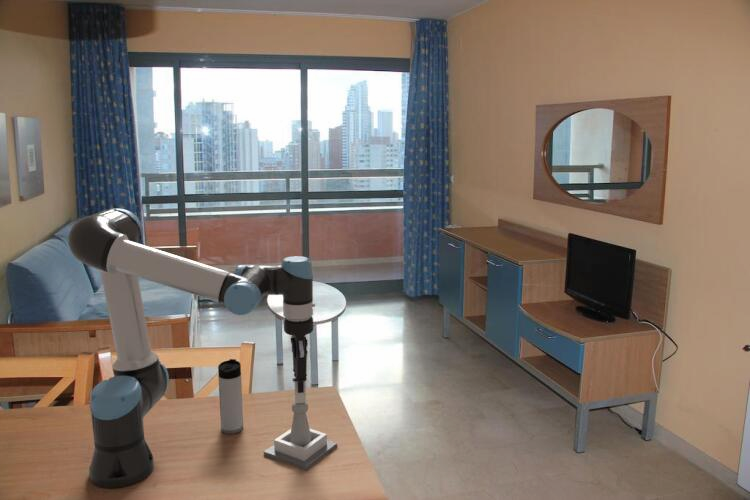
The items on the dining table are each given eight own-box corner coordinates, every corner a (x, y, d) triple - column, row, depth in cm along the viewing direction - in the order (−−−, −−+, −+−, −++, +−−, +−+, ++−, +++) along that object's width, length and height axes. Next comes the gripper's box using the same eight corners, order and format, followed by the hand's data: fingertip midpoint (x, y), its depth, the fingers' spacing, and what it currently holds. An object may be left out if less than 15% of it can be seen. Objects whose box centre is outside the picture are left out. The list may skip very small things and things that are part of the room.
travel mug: (246, 423, 187) (243, 359, 182) (239, 434, 180) (236, 368, 176) (225, 422, 187) (222, 358, 183) (217, 433, 181) (214, 367, 176)
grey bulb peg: (310, 453, 169) (309, 407, 167) (288, 452, 169) (287, 407, 167) (312, 441, 175) (311, 397, 172) (291, 441, 175) (290, 397, 172)
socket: (263, 454, 170) (263, 441, 169) (296, 432, 182) (296, 419, 181) (305, 470, 163) (305, 456, 162) (337, 446, 175) (337, 432, 174)
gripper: (316, 324, 159) (318, 411, 164) (309, 308, 171) (311, 389, 176) (286, 326, 157) (288, 414, 162) (281, 310, 169) (283, 392, 175)
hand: (300, 401), depth 169 cm, fingers closed
